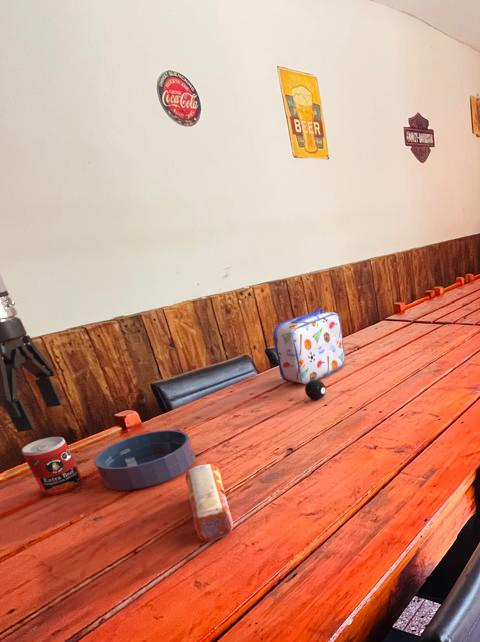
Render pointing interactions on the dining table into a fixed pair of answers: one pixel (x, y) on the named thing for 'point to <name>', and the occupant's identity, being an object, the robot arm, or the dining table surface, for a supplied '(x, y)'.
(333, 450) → the dining table surface
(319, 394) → the billiard ball
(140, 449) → the bowl
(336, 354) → the lunch box
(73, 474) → the canned food
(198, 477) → the snack package
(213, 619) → the dining table surface
